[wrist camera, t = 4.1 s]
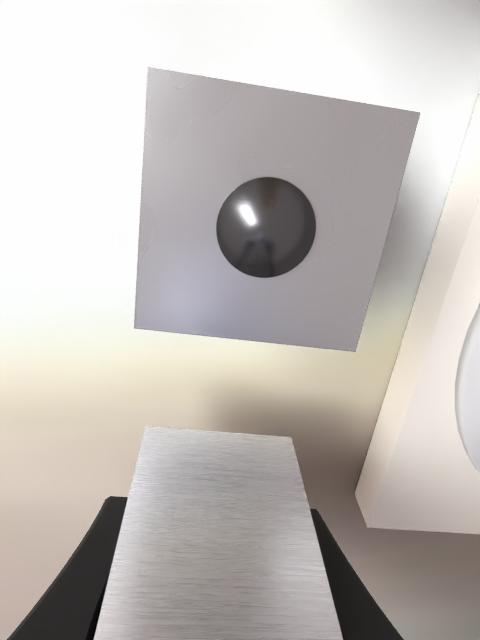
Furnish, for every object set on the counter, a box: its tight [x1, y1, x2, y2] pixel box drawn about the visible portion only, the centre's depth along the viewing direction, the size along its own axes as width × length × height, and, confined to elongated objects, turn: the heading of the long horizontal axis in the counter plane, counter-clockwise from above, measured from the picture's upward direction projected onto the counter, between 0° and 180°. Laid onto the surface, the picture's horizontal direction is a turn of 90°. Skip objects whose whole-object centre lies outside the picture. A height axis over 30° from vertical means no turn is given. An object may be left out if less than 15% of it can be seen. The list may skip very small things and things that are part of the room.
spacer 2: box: [94, 426, 343, 640], centre depth 10 cm, size 4×4×6 cm
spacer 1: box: [134, 67, 420, 352], centre depth 10 cm, size 4×4×6 cm
